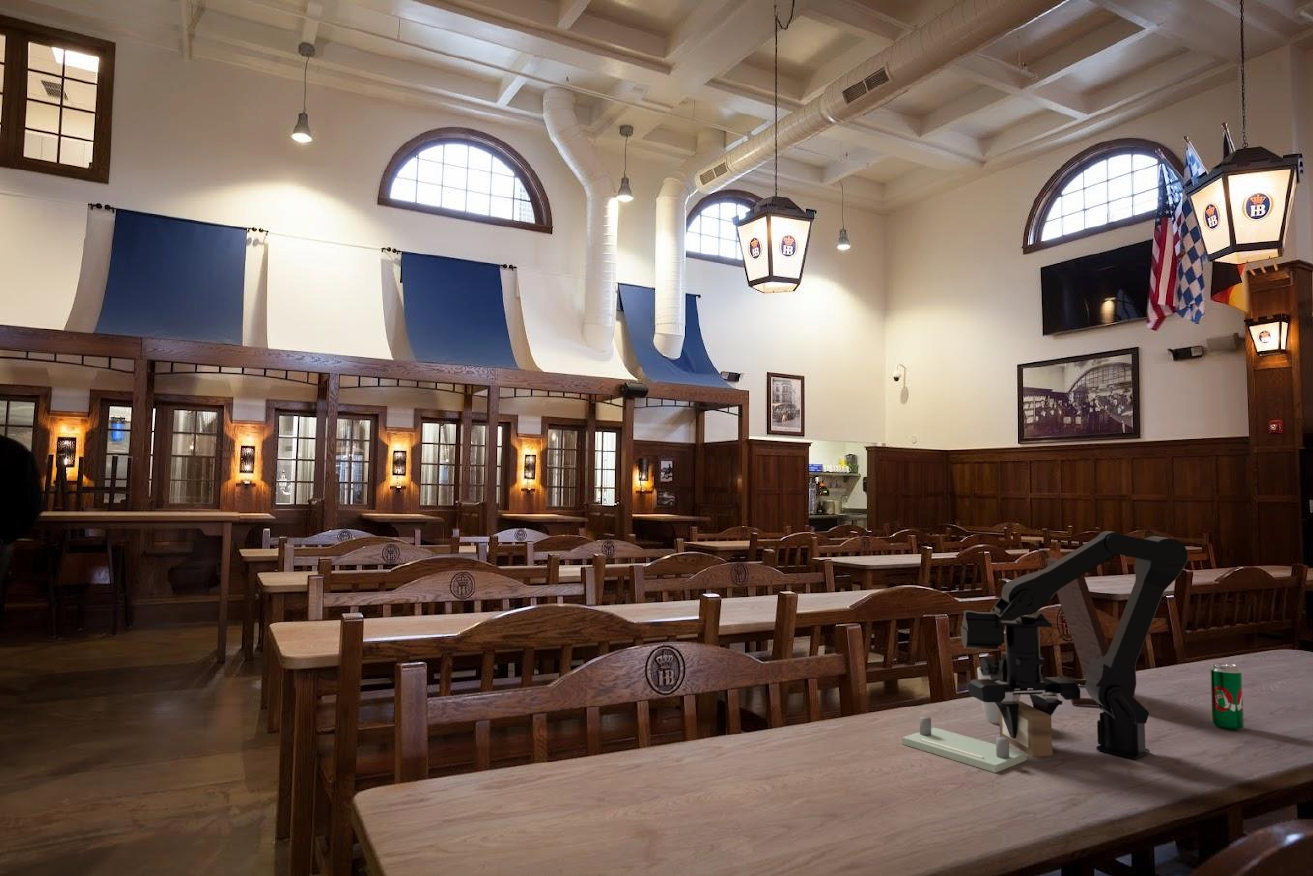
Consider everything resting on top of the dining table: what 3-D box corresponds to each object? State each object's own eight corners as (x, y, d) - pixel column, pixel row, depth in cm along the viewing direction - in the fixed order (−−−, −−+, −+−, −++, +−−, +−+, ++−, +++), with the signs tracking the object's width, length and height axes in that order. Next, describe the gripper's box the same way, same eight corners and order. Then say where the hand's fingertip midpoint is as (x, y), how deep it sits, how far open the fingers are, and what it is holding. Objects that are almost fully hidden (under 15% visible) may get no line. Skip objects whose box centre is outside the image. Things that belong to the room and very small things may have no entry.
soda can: (1233, 724, 157) (1231, 662, 158) (1250, 731, 152) (1247, 668, 153) (1206, 723, 157) (1204, 662, 158) (1222, 731, 152) (1219, 667, 153)
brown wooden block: (1052, 756, 138) (1051, 715, 139) (1032, 757, 138) (1031, 716, 138) (1017, 737, 148) (1016, 699, 149) (999, 738, 148) (998, 700, 148)
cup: (1029, 727, 154) (1028, 675, 155) (987, 727, 155) (986, 675, 155) (1011, 715, 162) (1010, 666, 163) (972, 715, 163) (971, 665, 163)
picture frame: (1128, 709, 167) (1123, 566, 169) (1074, 706, 169) (1070, 565, 171) (1094, 685, 187) (1090, 558, 189) (1046, 683, 189) (1043, 557, 191)
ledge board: (1026, 760, 136) (1026, 735, 136) (995, 772, 130) (994, 746, 130) (934, 733, 150) (934, 711, 150) (902, 744, 144) (901, 720, 144)
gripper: (1043, 640, 153) (1045, 722, 152) (952, 642, 151) (954, 726, 150) (1081, 652, 142) (1083, 741, 141) (983, 655, 140) (985, 745, 139)
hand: (1025, 737), depth 143 cm, fingers open, 4 cm apart
